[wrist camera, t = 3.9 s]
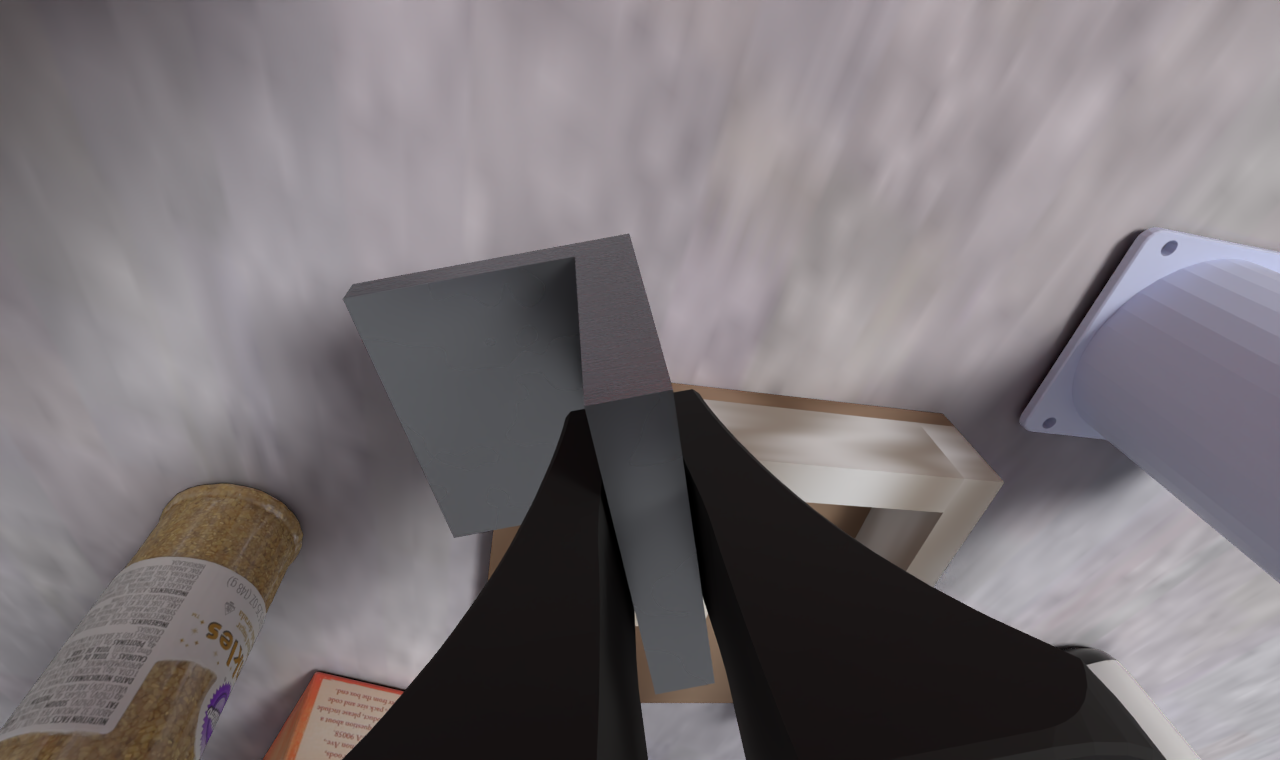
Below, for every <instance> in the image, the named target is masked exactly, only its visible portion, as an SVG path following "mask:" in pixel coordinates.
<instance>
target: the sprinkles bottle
mask: <svg viewBox="0 0 1280 760" xmlns="http://www.w3.org/2000/svg"><path fill="white" fill-rule="evenodd" d="M159 521H160V522H159V523H158V524H157V526H156V527H155V529H154V530H153V531H152V532H151V534H150V535H149V537H148V538H147V539H146V541H145V542H144V544H143V545H142V546H141V547H140V549H139V550H138V552H137V553H136V555H135V556H134V557H133V558H132V560H131V561H130V562H129V563H128V565H127V566H126V567H125V569H123V570H122V571H121V572H120V573H119V574H118V575H117V576H116V577H115V578H114V579H113V581H112V582H111V583H110V585H109V586H108V587H107V588H106V590H105V591H104V592H103V594H102V595H101V596H100V598H99V599H98V600H97V602H96V603H95V604H94V606H93V607H92V608H91V610H90V611H89V612H88V614H87V615H86V616H85V617H84V619H83V620H82V621H81V623H80V624H79V625H78V627H77V628H76V629H75V631H74V632H73V633H72V635H71V636H70V637H69V639H68V640H67V641H66V643H65V644H64V645H63V647H62V648H61V649H60V651H59V652H58V653H57V655H56V656H55V657H54V659H53V660H52V662H51V663H50V664H49V666H48V667H47V668H46V670H45V671H44V672H43V674H42V675H41V676H40V678H39V679H38V681H37V682H36V683H35V685H34V686H33V687H32V689H31V690H30V691H29V693H28V694H27V695H26V697H25V698H24V699H23V701H22V702H21V703H20V705H19V706H18V707H17V709H16V710H15V711H14V713H13V714H12V715H11V717H10V718H9V719H8V721H7V722H6V723H5V725H4V726H3V727H2V729H1V730H0V760H200V757H201V755H202V753H203V751H204V749H205V747H206V744H207V742H208V740H209V738H210V736H211V734H212V731H213V729H214V727H215V725H216V723H217V721H218V718H219V716H220V714H221V712H222V710H223V708H224V706H225V703H226V701H227V699H228V697H229V695H230V693H231V690H232V688H233V686H234V684H235V682H236V680H237V678H238V675H239V673H240V671H241V669H242V667H243V666H244V663H245V661H246V659H247V657H248V655H249V653H250V651H251V649H252V647H253V645H254V643H255V641H256V638H257V636H258V634H259V632H260V630H261V628H262V626H263V623H264V621H265V617H266V613H267V610H268V608H269V606H270V604H271V603H272V601H273V598H274V596H275V594H276V592H277V589H278V587H279V585H280V583H281V581H282V579H283V577H284V575H285V572H286V570H287V568H288V566H289V565H290V564H291V563H292V562H293V561H294V560H295V558H296V557H297V555H298V553H299V551H300V549H301V546H302V537H303V533H302V530H301V527H300V523H299V522H298V520H297V518H296V517H295V515H294V514H293V513H292V512H291V511H290V510H289V509H288V508H287V506H286V505H284V504H283V503H282V502H281V501H279V500H277V499H275V498H273V497H272V496H270V495H268V494H266V493H264V492H262V491H259V490H257V489H254V488H250V487H246V486H239V485H235V484H212V485H201V486H197V487H192V488H189V489H187V490H185V491H183V492H181V493H178V494H177V495H176V496H175V497H174V498H173V499H172V500H171V501H170V502H169V503H168V504H167V506H166V507H165V508H164V510H163V512H162V515H161V517H160V519H159Z"/></svg>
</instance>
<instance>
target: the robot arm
mask: <svg viewBox="0 0 1280 760" xmlns="http://www.w3.org/2000/svg"><path fill="white" fill-rule="evenodd" d="M1165 244H1166V245H1165ZM1164 245H1165V246H1164ZM1163 246H1164V247H1163ZM1162 247H1163V248H1162ZM673 394H674V401H675V408H676V415H677V422H678V429H679V436H680V443H681V450H682V457H683V464H684V471H685V478H686V485H687V492H688V499H689V506H690V513H691V520H692V527H693V534H694V541H695V548H696V555H697V562H698V569H699V576H700V582H701V589H702V596H703V600H704V603H705V606H706V609H707V612H708V615H709V618H710V621H711V624H712V627H713V631H714V634H715V637H716V640H717V643H718V646H719V649H720V653H721V656H722V660H723V663H724V667H725V670H726V674H727V678H728V683H729V687H730V691H731V696H732V700H733V704H734V709H735V713H736V717H737V722H738V726H739V730H740V735H741V739H742V744H743V748H744V753H745V757H746V760H1166V758H1165V757H1164V756H1163V754H1162V753H1161V752H1160V751H1159V749H1158V748H1157V747H1156V745H1155V744H1154V743H1153V742H1152V740H1151V739H1150V738H1149V737H1148V735H1147V734H1146V733H1145V731H1144V730H1143V729H1142V728H1141V726H1140V725H1139V724H1138V722H1137V721H1136V720H1135V719H1134V717H1133V716H1132V715H1131V714H1130V713H1129V711H1128V710H1127V709H1126V708H1125V707H1124V705H1123V704H1122V703H1121V702H1120V701H1119V700H1118V698H1117V697H1116V696H1115V695H1114V694H1113V693H1112V692H1111V691H1110V690H1109V689H1108V688H1107V687H1106V686H1105V685H1104V683H1103V682H1102V681H1101V680H1100V679H1099V678H1098V677H1097V676H1096V675H1095V674H1094V673H1093V672H1092V671H1091V670H1090V669H1089V667H1088V666H1087V665H1086V664H1085V663H1084V662H1083V660H1082V659H1080V658H1078V657H1076V656H1074V655H1071V654H1069V653H1067V652H1065V651H1063V650H1061V649H1058V648H1056V647H1054V646H1052V645H1050V644H1047V643H1045V642H1043V641H1041V640H1039V639H1037V638H1034V637H1032V636H1030V635H1028V634H1026V633H1023V632H1021V631H1019V630H1017V629H1015V628H1013V627H1010V626H1008V625H1006V624H1004V623H1002V622H999V621H997V620H995V619H993V618H991V617H989V616H987V615H985V614H983V613H981V612H979V611H977V610H975V609H973V608H971V607H969V606H967V605H965V604H963V603H961V602H960V601H958V600H956V599H954V598H952V597H950V596H948V595H946V594H944V593H943V592H941V591H939V590H937V589H935V588H933V587H931V586H930V585H928V584H926V583H925V582H923V581H921V580H920V579H918V578H916V577H915V576H913V575H911V574H910V573H908V572H906V571H905V570H903V569H901V568H900V567H898V566H896V565H895V564H893V563H891V562H890V561H888V560H886V559H885V558H883V557H881V556H880V555H878V554H876V553H875V552H873V551H872V550H870V549H869V548H867V547H866V546H864V545H863V544H862V543H860V542H859V541H857V540H856V539H854V538H853V537H851V536H850V535H848V534H847V533H846V532H844V531H843V530H841V529H840V528H838V527H837V526H836V525H834V524H833V523H832V522H830V521H829V520H828V519H826V518H825V517H824V516H822V515H821V514H820V513H818V512H817V511H816V510H814V509H813V508H812V507H811V506H809V505H808V504H807V503H806V502H804V501H803V500H802V499H801V498H800V497H798V496H797V495H796V494H795V493H794V492H792V491H791V490H790V489H789V488H788V487H787V486H785V485H784V484H783V483H782V482H781V481H780V480H779V479H777V478H776V477H775V476H774V475H773V474H772V473H771V472H770V471H769V470H768V469H767V468H765V467H764V466H763V465H762V464H761V463H760V462H759V461H758V460H757V459H756V458H755V457H754V456H753V455H752V454H751V453H750V452H749V451H748V450H747V449H746V448H745V447H744V446H743V445H742V444H741V443H740V442H739V441H738V440H737V439H736V438H735V436H734V435H733V434H732V433H731V432H730V431H729V430H728V429H727V428H726V427H725V425H724V424H723V423H722V422H721V421H720V420H719V419H718V417H717V416H716V415H715V414H714V413H713V411H712V410H711V409H710V408H709V406H708V405H707V404H706V402H705V401H704V400H703V398H702V397H701V395H700V394H699V393H698V392H696V391H695V390H693V389H689V390H684V391H679V392H673ZM1019 420H1020V424H1021V425H1022V426H1023V427H1024V428H1025V429H1026V430H1028V431H1031V432H1040V433H1049V434H1058V435H1067V436H1076V437H1085V438H1094V439H1103V440H1108V441H1109V442H1110V443H1111V444H1113V445H1114V446H1115V447H1116V448H1117V449H1119V450H1120V451H1121V452H1122V453H1123V454H1125V455H1126V456H1127V457H1128V458H1129V459H1131V460H1132V461H1133V462H1134V463H1135V464H1137V465H1138V466H1139V467H1140V468H1141V469H1143V470H1144V471H1145V472H1146V473H1147V474H1149V475H1150V476H1151V477H1152V478H1154V479H1155V480H1156V481H1157V482H1158V483H1160V484H1161V485H1162V486H1163V487H1164V488H1166V489H1167V490H1168V491H1169V492H1170V493H1172V494H1173V495H1174V496H1175V497H1176V498H1178V499H1179V500H1180V501H1181V502H1182V503H1184V504H1185V505H1186V506H1187V507H1188V508H1190V509H1191V510H1192V511H1193V512H1194V513H1196V514H1197V515H1198V516H1199V517H1200V518H1202V519H1203V520H1204V521H1205V522H1206V523H1208V524H1209V525H1210V526H1211V527H1212V528H1214V529H1215V530H1216V531H1217V532H1219V533H1220V534H1221V535H1222V536H1223V537H1225V538H1226V539H1227V540H1228V541H1229V542H1231V543H1232V544H1233V545H1234V546H1235V547H1237V548H1238V549H1239V550H1240V551H1241V552H1243V553H1244V554H1245V555H1246V556H1247V557H1249V558H1250V559H1251V560H1252V561H1253V562H1255V563H1256V564H1257V565H1258V566H1259V567H1261V568H1262V569H1263V570H1264V571H1265V572H1267V573H1268V574H1269V575H1270V576H1271V577H1273V578H1274V579H1275V580H1276V581H1278V582H1279V583H1280V252H1278V251H1273V250H1268V249H1263V248H1258V247H1253V246H1249V245H1244V244H1239V243H1234V242H1229V241H1224V240H1219V239H1214V238H1209V237H1204V236H1199V235H1194V234H1189V233H1184V232H1179V231H1175V230H1170V229H1165V228H1160V227H1152V228H1149V229H1147V230H1145V231H1144V232H1142V233H1141V234H1139V236H1138V237H1137V238H1136V239H1135V241H1134V242H1133V244H1132V245H1131V247H1130V248H1129V250H1128V251H1127V253H1126V255H1125V256H1124V258H1123V259H1122V261H1121V262H1120V264H1119V265H1118V267H1117V268H1116V270H1115V271H1114V273H1113V275H1112V276H1111V278H1110V279H1109V281H1108V282H1107V284H1106V285H1105V287H1104V288H1103V290H1102V291H1101V293H1100V295H1099V296H1098V298H1097V299H1096V301H1095V302H1094V304H1093V305H1092V307H1091V308H1090V310H1089V311H1088V313H1087V314H1086V316H1085V318H1084V319H1083V321H1082V322H1081V324H1080V325H1079V327H1078V328H1077V330H1076V331H1075V333H1074V334H1073V336H1072V338H1071V339H1070V341H1069V342H1068V344H1067V345H1066V347H1065V348H1064V350H1063V351H1062V353H1061V354H1060V356H1059V358H1058V359H1057V361H1056V362H1055V364H1054V365H1053V367H1052V368H1051V370H1050V371H1049V373H1048V374H1047V376H1046V378H1045V379H1044V381H1043V382H1042V384H1041V385H1040V387H1039V388H1038V390H1037V391H1036V393H1035V394H1034V396H1033V397H1032V399H1031V401H1030V402H1029V404H1028V405H1027V407H1026V408H1025V410H1024V411H1023V413H1022V414H1021V417H1020V419H1019ZM342 760H648V756H647V748H646V741H645V733H644V726H643V718H642V710H641V703H640V695H639V685H638V673H637V658H636V633H635V610H634V606H633V601H632V597H631V593H630V589H629V585H628V581H627V577H626V573H625V569H624V565H623V561H622V557H621V553H620V549H619V545H618V541H617V537H616V533H615V529H614V525H613V520H612V516H611V512H610V508H609V504H608V500H607V496H606V492H605V488H604V484H603V480H602V476H601V472H600V468H599V464H598V460H597V456H596V452H595V448H594V444H593V440H592V435H591V431H590V427H589V423H588V419H587V415H586V411H585V409H580V410H575V411H571V412H570V413H569V414H568V415H567V417H566V418H565V422H564V425H563V429H562V432H561V435H560V438H559V441H558V444H557V446H556V449H555V452H554V454H553V457H552V459H551V462H550V464H549V467H548V469H547V471H546V474H545V476H544V478H543V480H542V483H541V485H540V487H539V489H538V492H537V494H536V496H535V498H534V500H533V502H532V504H531V506H530V508H529V510H528V512H527V514H526V516H525V518H524V520H523V522H522V524H521V525H520V527H519V529H518V531H517V533H516V535H515V537H514V539H513V541H512V542H511V544H510V546H509V548H508V549H507V551H506V553H505V554H504V556H503V558H502V560H501V561H500V563H499V564H498V566H497V568H496V569H495V571H494V573H493V574H492V576H491V577H490V579H489V580H488V582H487V583H486V585H485V586H484V588H483V590H482V591H481V593H480V594H479V596H478V597H477V599H476V600H475V601H474V603H473V604H472V605H471V607H470V608H469V610H468V611H467V612H466V614H465V615H464V617H463V618H462V619H461V621H460V622H459V624H458V625H457V626H456V628H455V629H454V631H453V632H452V633H451V635H450V636H449V637H448V639H447V640H446V641H445V643H444V644H443V645H442V646H441V648H440V649H439V650H438V652H437V653H436V654H435V655H434V657H433V658H432V659H431V660H430V662H429V663H428V664H427V665H426V666H425V667H424V669H423V670H422V671H421V672H420V673H419V675H418V676H417V677H416V678H415V679H414V680H413V682H412V683H411V684H410V685H409V686H408V688H407V689H406V690H405V691H404V692H403V693H402V695H401V696H400V697H399V698H398V699H397V700H396V702H395V703H394V704H393V705H392V706H391V708H390V709H389V710H388V711H387V712H386V713H385V715H384V716H383V717H382V718H381V719H380V720H379V721H378V722H377V723H376V725H375V726H374V727H373V728H372V729H371V730H370V731H369V732H368V733H367V734H366V735H365V736H364V737H363V739H362V740H361V741H360V742H359V743H358V744H357V745H356V746H355V747H354V748H353V749H352V750H351V751H350V752H349V753H348V754H347V755H346V756H345V757H344V758H343V759H342Z"/></svg>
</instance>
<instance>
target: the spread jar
mask: <svg viewBox="0 0 1280 760" xmlns="http://www.w3.org/2000/svg"><path fill="white" fill-rule="evenodd" d="M1061 650H1063V651H1065V652H1067V653H1069V654H1071V655H1074V656H1076V657H1078V658H1080V659H1082V660H1083V662H1084V663H1085V664H1086V665H1087V666H1088V667H1089V669H1090V670H1091V671H1092V672H1093V673H1094V674H1095V675H1096V676H1097V677H1098V678H1099V679H1100V680H1101V681H1102V682H1103V683H1104V685H1105V686H1106V687H1107V688H1108V689H1109V690H1110V691H1111V692H1112V693H1113V694H1114V695H1115V696H1116V697H1117V698H1118V700H1119V701H1120V702H1121V703H1122V704H1123V705H1124V707H1125V708H1126V709H1127V710H1128V711H1129V713H1130V714H1131V715H1132V716H1133V717H1134V719H1135V720H1136V721H1137V722H1138V724H1139V725H1140V726H1141V728H1142V729H1143V730H1144V731H1145V733H1146V734H1147V735H1148V737H1149V738H1150V739H1151V740H1152V742H1153V743H1154V744H1155V745H1156V747H1157V748H1158V749H1159V751H1160V752H1161V753H1162V754H1163V756H1164V757H1165V758H1166V760H1201V758H1200V757H1199V756H1198V755H1197V753H1196V752H1195V751H1194V750H1193V749H1192V747H1191V746H1190V745H1189V744H1188V743H1187V741H1186V740H1185V739H1184V738H1183V737H1182V735H1181V734H1180V733H1179V732H1178V731H1177V729H1176V728H1175V727H1174V726H1173V725H1172V723H1171V722H1170V721H1169V720H1168V719H1167V717H1166V716H1165V715H1164V714H1163V713H1162V711H1161V710H1160V709H1159V708H1158V706H1157V705H1156V704H1155V703H1154V702H1153V700H1152V699H1151V698H1150V697H1149V696H1148V694H1147V693H1146V692H1145V691H1144V690H1143V688H1142V687H1141V686H1140V685H1139V684H1138V683H1137V681H1136V680H1135V679H1134V678H1133V677H1132V676H1131V675H1130V673H1129V672H1128V671H1127V670H1126V669H1125V668H1124V667H1123V666H1122V665H1121V664H1120V663H1119V662H1118V661H1117V660H1116V659H1114V658H1113V657H1112V656H1111V655H1109V654H1108V653H1106V652H1104V651H1101V650H1097V649H1090V648H1066V649H1061Z"/></svg>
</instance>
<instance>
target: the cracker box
mask: <svg viewBox="0 0 1280 760" xmlns="http://www.w3.org/2000/svg"><path fill="white" fill-rule="evenodd" d="M403 692H404V691H400V690H396V689H392V688H387V687H383V686H378V685H374V684H369V683H365V682H361V681H357V680H352V679H348V678H344V677H339V676H335V675H331V674H326V673H322V672H315V674H314V675H313V677H312V679H311V681H310V683H309V684H308V686H307V688H306V690H305V691H304V693H303V694H302V696H301V697H300V699H299V701H298V702H297V704H296V706H295V707H294V709H293V711H292V712H291V714H290V716H289V717H288V719H287V720H286V722H285V724H284V725H283V727H282V729H281V730H280V732H279V734H278V735H277V737H276V739H275V740H274V742H273V744H272V745H271V747H270V748H269V750H268V752H267V753H266V755H265V756H264V758H263V760H342V759H343V758H344V757H345V756H346V755H347V754H348V753H349V752H350V751H351V750H352V749H353V748H354V747H355V746H356V745H357V744H358V743H359V742H360V741H361V740H362V739H363V737H364V736H365V735H366V734H367V733H368V732H369V731H370V730H371V729H372V728H373V727H374V726H375V725H376V723H377V722H378V721H379V720H380V719H381V718H382V717H383V716H384V715H385V713H386V712H387V711H388V710H389V709H390V708H391V706H392V705H393V704H394V703H395V702H396V700H397V699H398V698H399V697H400V696H401V695H402V693H403Z"/></svg>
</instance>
